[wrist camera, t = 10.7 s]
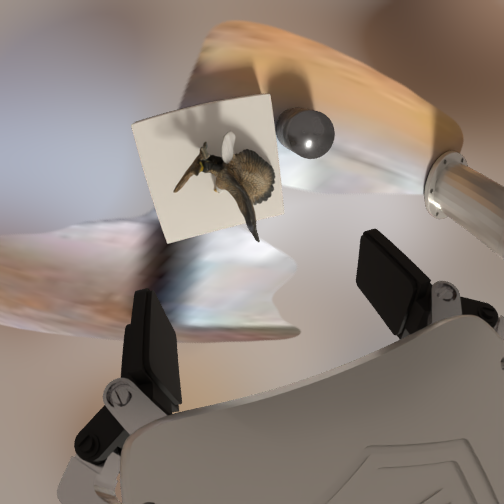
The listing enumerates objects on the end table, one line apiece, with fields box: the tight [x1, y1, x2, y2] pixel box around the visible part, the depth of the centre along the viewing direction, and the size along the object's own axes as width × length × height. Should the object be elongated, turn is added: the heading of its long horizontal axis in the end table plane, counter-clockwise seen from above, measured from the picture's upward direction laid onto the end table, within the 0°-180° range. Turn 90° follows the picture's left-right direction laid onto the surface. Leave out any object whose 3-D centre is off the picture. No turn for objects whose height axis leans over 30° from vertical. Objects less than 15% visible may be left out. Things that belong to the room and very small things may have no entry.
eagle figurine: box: [173, 131, 276, 242], centre depth 24 cm, size 8×7×9 cm
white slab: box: [131, 94, 284, 244], centre depth 27 cm, size 13×13×3 cm
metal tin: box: [276, 107, 335, 159], centre depth 26 cm, size 5×5×4 cm
